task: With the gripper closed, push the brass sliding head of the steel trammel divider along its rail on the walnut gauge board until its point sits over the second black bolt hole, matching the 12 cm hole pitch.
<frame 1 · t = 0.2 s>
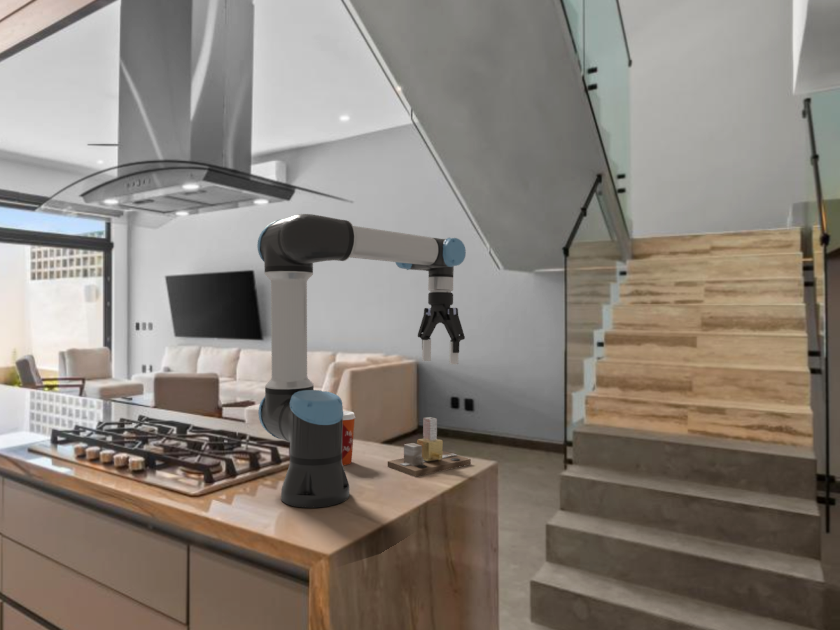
hand: (439, 362, 165), 28 cm above the table, fingers open, 13 cm apart
paper cup: (341, 463, 154), on the table
hole gauge: (429, 465, 152), on the table
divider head: (432, 438, 151), point 8 cm above the table, slide at 6.0 cm
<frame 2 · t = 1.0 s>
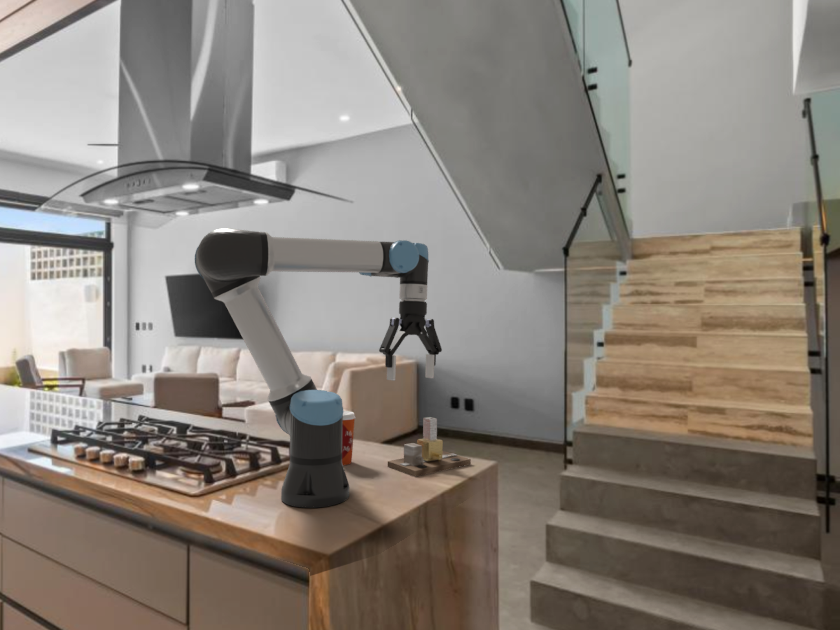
hand: (410, 379, 149), 24 cm above the table, fingers open, 13 cm apart
nothing on the table moved.
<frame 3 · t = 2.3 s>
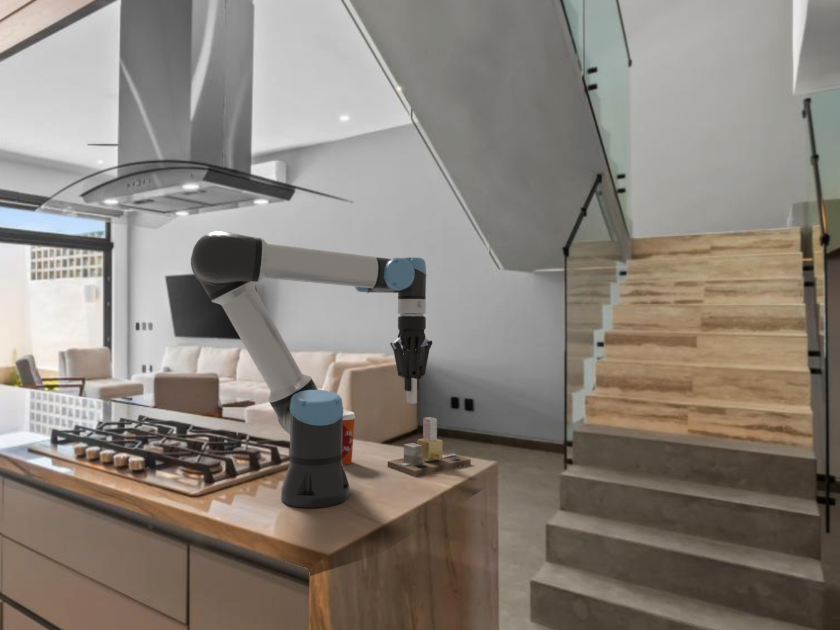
hand: (411, 402, 148), 18 cm above the table, fingers closed
nothing on the table moved.
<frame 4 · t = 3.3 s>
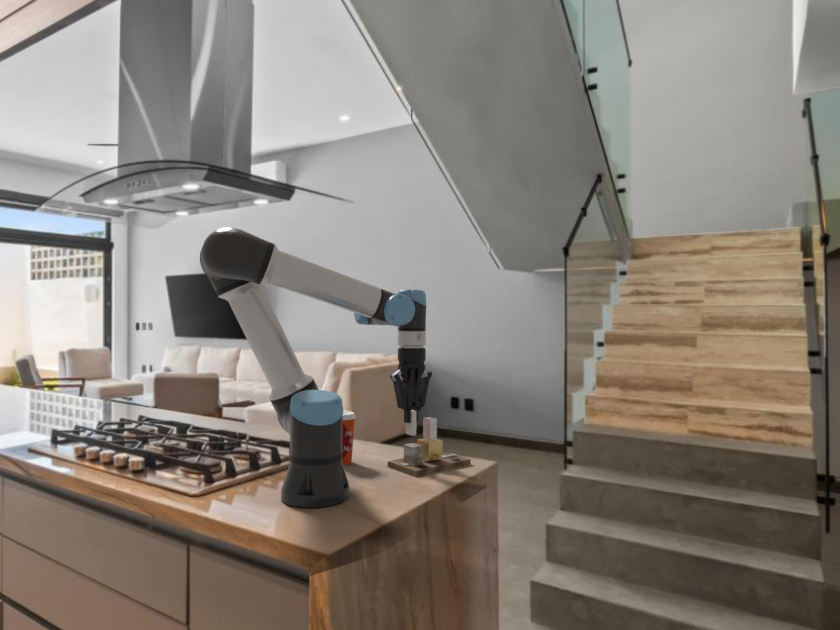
hand: (410, 434, 148), 9 cm above the table, fingers closed
nothing on the table moved.
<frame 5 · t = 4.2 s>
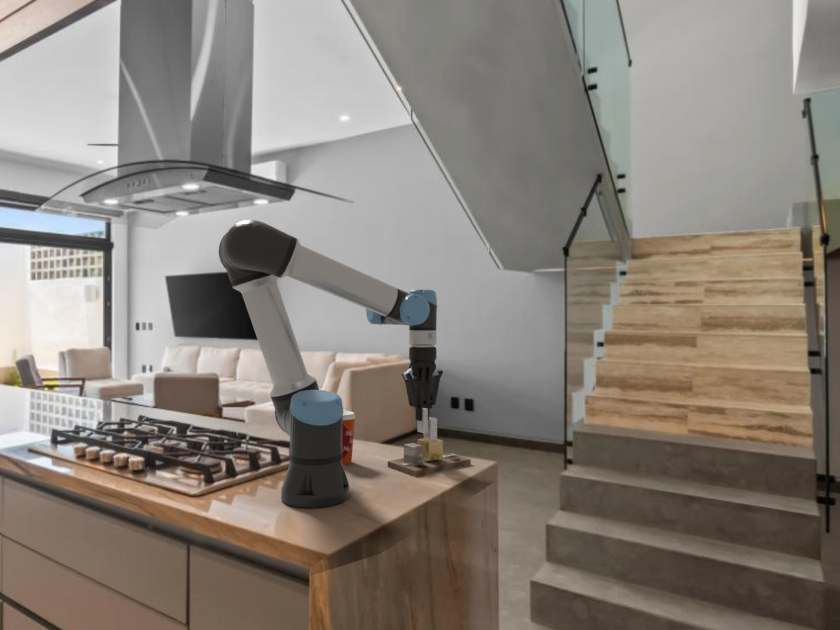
hand: (422, 432, 150), 10 cm above the table, fingers closed
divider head: (432, 438, 152), point 8 cm above the table, slide at 6.1 cm, touching gripper
everything else where it was.
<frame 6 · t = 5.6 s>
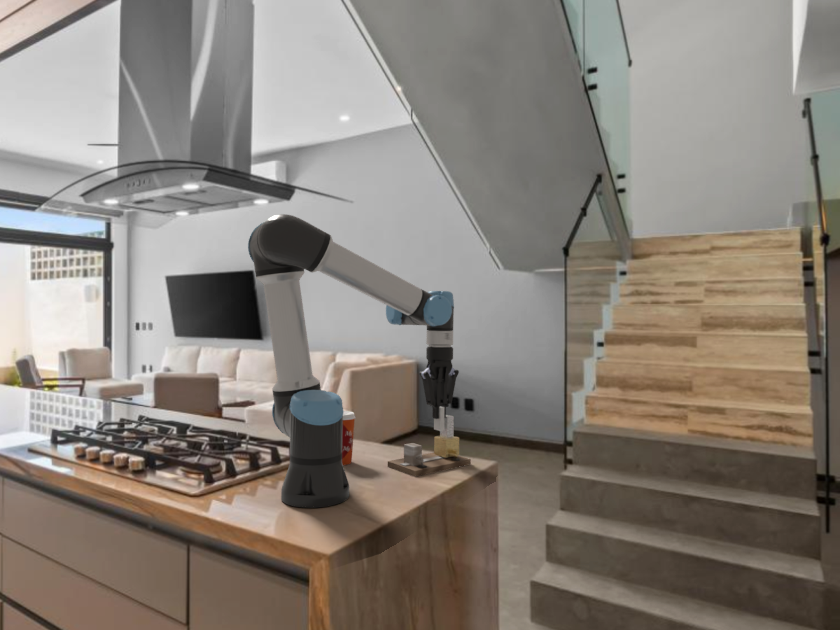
hand: (439, 429, 154), 10 cm above the table, fingers closed
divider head: (449, 436, 155), point 8 cm above the table, slide at 12.3 cm, touching gripper
everything else where it was.
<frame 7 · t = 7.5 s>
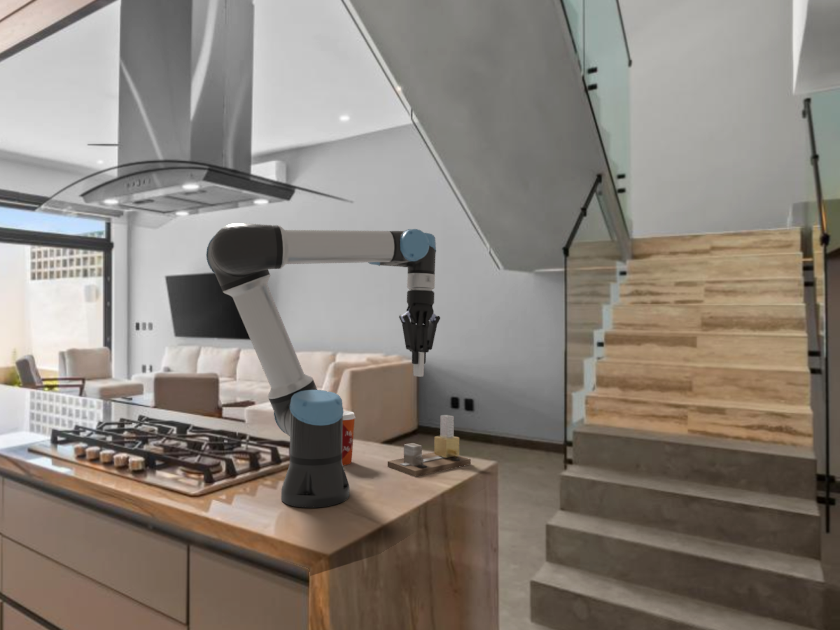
hand: (418, 376, 150), 25 cm above the table, fingers closed
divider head: (449, 436, 156), point 8 cm above the table, slide at 12.3 cm
everything else where it was.
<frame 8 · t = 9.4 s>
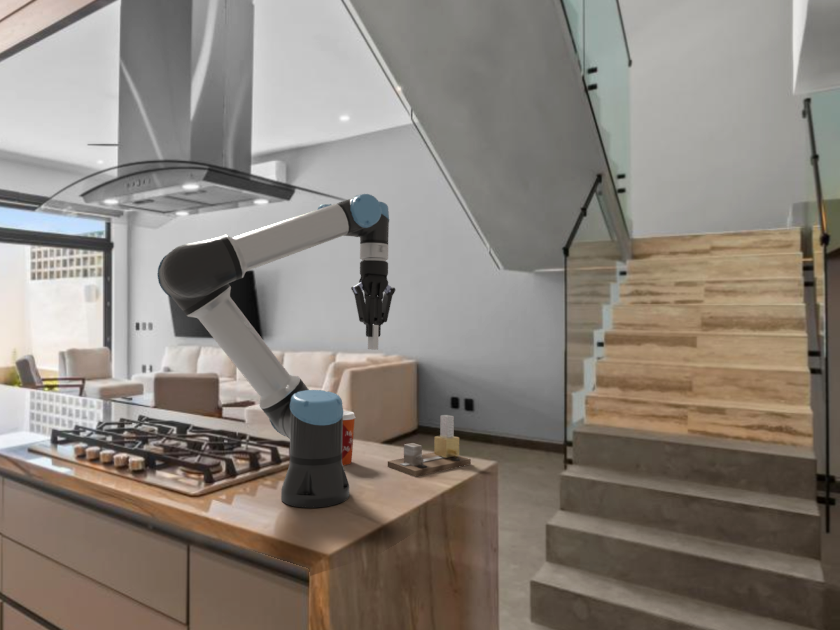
hand: (373, 349, 146), 32 cm above the table, fingers closed
nothing on the table moved.
at the end: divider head slide at 12.3 cm; paper cup moved 0.2 cm from its start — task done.
